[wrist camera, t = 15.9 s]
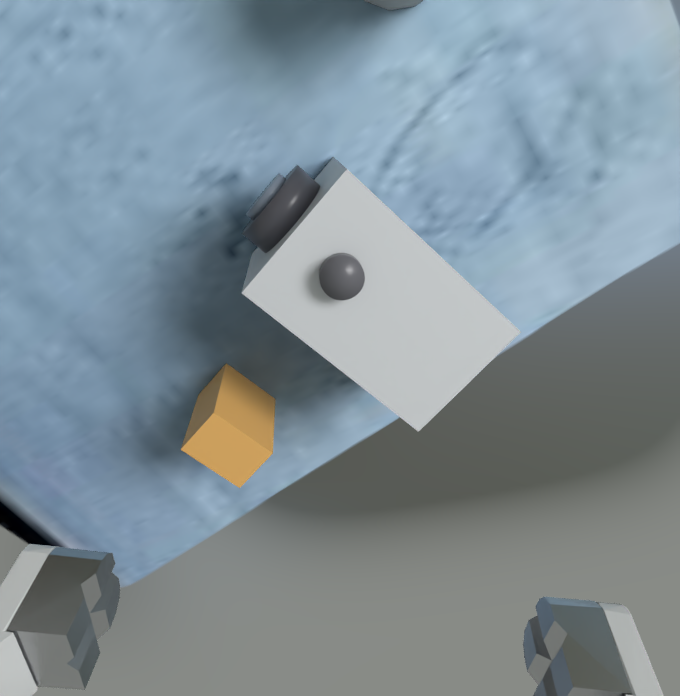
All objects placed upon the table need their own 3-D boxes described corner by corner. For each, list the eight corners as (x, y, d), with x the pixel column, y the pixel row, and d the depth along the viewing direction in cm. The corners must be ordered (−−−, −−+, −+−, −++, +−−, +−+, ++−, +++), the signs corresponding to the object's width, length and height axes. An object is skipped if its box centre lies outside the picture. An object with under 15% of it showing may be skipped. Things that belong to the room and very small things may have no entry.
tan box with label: (244, 432, 52) (235, 492, 44) (195, 398, 50) (176, 454, 42) (275, 398, 51) (272, 453, 43) (226, 363, 49) (213, 412, 41)
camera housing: (391, 370, 51) (419, 440, 40) (224, 234, 45) (203, 273, 34) (472, 286, 49) (526, 337, 38) (307, 132, 43) (314, 138, 32)
